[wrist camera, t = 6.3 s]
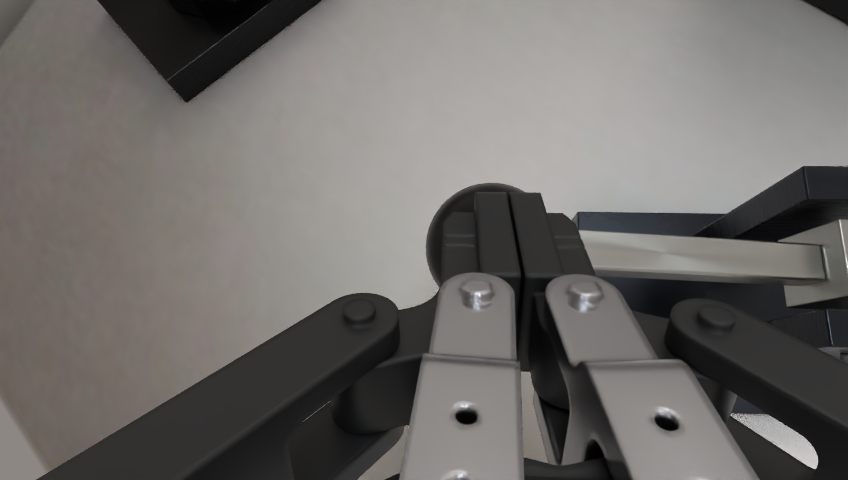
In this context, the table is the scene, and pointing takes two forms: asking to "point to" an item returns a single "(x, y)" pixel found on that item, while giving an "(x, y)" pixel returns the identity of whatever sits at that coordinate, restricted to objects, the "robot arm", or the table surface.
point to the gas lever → (700, 256)
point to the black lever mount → (754, 220)
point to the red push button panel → (201, 34)
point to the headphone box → (834, 7)
